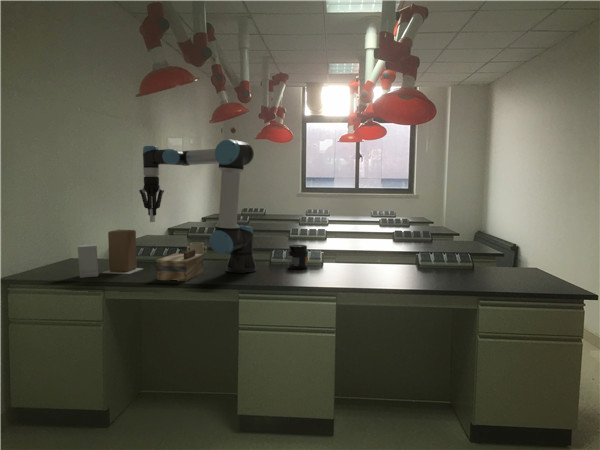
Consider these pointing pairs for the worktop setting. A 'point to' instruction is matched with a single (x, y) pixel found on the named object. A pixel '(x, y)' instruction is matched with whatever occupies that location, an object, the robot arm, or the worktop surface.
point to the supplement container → (297, 257)
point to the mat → (124, 272)
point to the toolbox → (179, 270)
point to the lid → (181, 257)
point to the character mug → (197, 247)
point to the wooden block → (122, 250)
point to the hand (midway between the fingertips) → (152, 221)
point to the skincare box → (88, 260)
